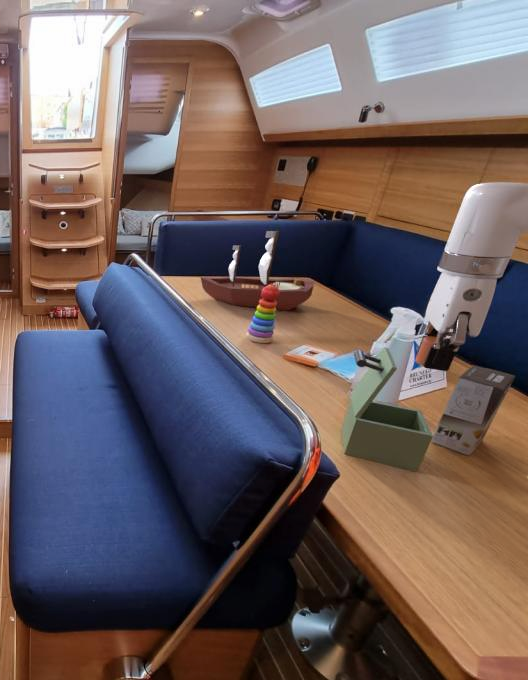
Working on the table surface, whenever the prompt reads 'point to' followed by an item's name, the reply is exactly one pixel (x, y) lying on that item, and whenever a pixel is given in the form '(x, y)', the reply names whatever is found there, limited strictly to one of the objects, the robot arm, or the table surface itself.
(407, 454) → the green hollow box
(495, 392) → the coffee box
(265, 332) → the stacking toy
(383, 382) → the green box lid
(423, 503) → the table surface
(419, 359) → the cylinder
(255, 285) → the sailing ship
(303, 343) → the table surface
